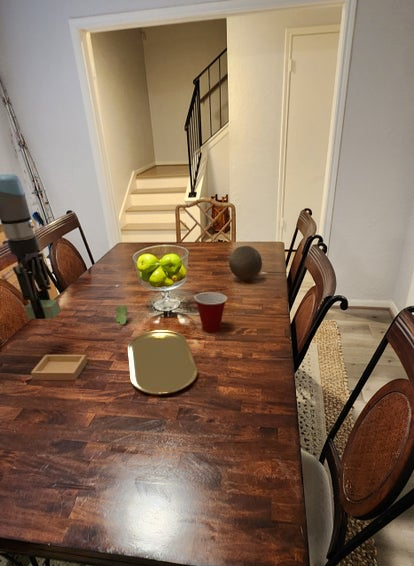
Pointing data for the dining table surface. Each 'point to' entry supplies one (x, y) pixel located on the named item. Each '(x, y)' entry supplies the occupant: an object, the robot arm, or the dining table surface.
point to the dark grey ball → (245, 262)
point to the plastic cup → (210, 310)
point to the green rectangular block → (45, 309)
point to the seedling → (121, 314)
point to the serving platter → (161, 362)
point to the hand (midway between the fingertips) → (44, 314)
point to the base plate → (59, 367)
